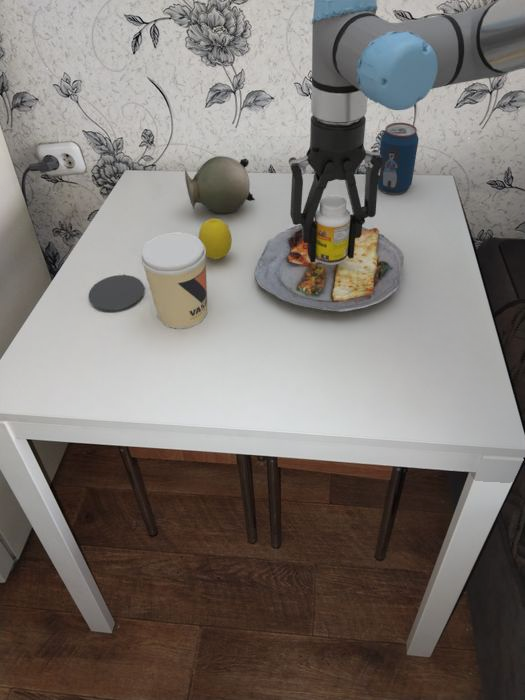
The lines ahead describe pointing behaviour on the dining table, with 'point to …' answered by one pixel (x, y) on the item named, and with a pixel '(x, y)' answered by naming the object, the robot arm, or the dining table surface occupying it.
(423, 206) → the dining table surface
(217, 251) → the lemon
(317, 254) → the supplement bottle
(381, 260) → the food plate
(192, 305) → the coffee cup
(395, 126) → the soda can
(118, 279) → the slate coaster
